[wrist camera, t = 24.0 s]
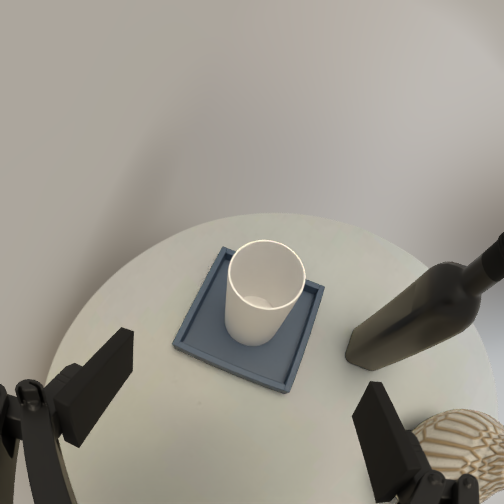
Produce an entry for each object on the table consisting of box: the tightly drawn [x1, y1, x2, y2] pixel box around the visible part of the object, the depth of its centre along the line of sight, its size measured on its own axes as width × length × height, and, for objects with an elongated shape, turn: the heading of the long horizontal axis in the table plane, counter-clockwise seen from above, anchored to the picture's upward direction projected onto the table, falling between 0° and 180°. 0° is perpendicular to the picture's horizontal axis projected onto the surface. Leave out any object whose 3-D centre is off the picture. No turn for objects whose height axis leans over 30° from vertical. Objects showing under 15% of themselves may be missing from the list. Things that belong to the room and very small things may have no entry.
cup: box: [225, 240, 306, 346], centre depth 34 cm, size 7×7×14 cm
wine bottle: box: [346, 232, 504, 371], centre depth 27 cm, size 6×6×30 cm
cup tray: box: [172, 247, 325, 394], centre depth 39 cm, size 16×16×3 cm
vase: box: [396, 409, 504, 504], centre depth 22 cm, size 16×16×20 cm
